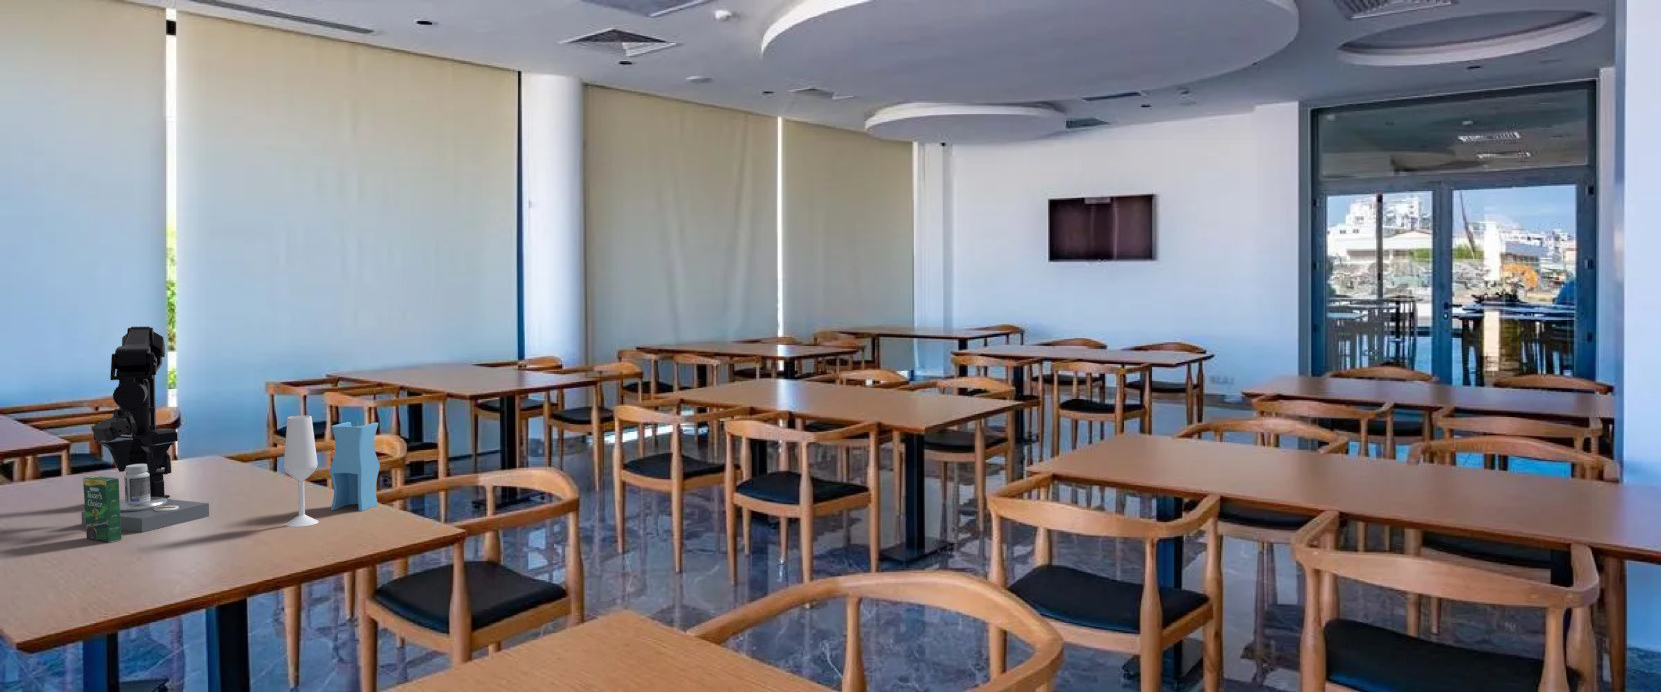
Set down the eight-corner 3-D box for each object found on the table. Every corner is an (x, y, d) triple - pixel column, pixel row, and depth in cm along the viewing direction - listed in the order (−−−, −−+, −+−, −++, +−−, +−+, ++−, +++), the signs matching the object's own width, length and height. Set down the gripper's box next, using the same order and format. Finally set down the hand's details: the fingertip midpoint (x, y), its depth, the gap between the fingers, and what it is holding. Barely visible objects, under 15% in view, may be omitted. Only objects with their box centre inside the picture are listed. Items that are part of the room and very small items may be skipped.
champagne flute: (307, 518, 229) (305, 414, 227) (325, 522, 225) (322, 416, 224) (278, 524, 223) (275, 417, 221) (296, 528, 219) (293, 419, 218)
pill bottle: (155, 500, 227) (154, 463, 227) (139, 504, 223) (138, 467, 222) (136, 499, 228) (135, 463, 227) (119, 504, 223) (118, 466, 223)
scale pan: (96, 509, 222) (95, 505, 222) (143, 499, 232) (143, 495, 232) (132, 513, 218) (132, 509, 218) (179, 503, 229) (179, 498, 229)
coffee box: (84, 538, 209) (81, 476, 208) (98, 535, 212) (96, 474, 211) (107, 543, 206) (105, 480, 205) (122, 539, 208) (120, 477, 207)
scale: (81, 525, 220) (81, 509, 220) (151, 509, 235) (150, 494, 235) (142, 532, 214) (141, 515, 214) (209, 515, 230) (208, 500, 229)
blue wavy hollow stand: (380, 503, 244) (378, 422, 243) (362, 511, 236) (360, 427, 235) (349, 502, 245) (348, 421, 243) (330, 509, 237) (328, 426, 236)
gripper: (67, 406, 219) (70, 476, 220) (130, 410, 213) (132, 482, 214) (117, 400, 230) (120, 467, 231) (178, 404, 224) (180, 473, 225)
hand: (136, 472), depth 225 cm, fingers open, 9 cm apart
